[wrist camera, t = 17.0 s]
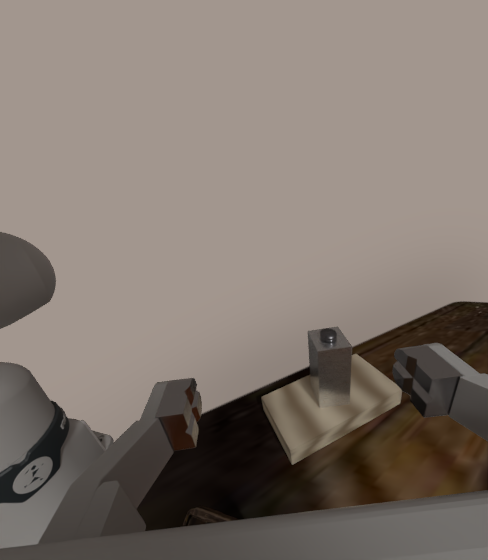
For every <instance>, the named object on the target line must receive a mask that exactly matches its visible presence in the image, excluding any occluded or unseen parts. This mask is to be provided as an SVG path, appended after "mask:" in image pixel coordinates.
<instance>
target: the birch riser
mask: <svg viewBox="0 0 488 560" xmlns="http://www.w3.org/2000/svg"><path fill="white" fill-rule="evenodd" d="M401 395H402V390H401V389H400V387H399V386H398V385H396V384H395V383H394V382H392V381H391V380H390V379H389V378H387V377H386V376H385V375H383V374H382V373H381V372H379V371H378V370H377V369H375V368H374V367H373V366H372V365H370V364H369V363H368V362H366V361H365V360H364V359H362V358H361V357H360V356H358V355H357V354H354V355H352V360H351V386H350V404H346V405H339V406H332V407H324V408H320V407H319V405H318V402H317V399H316V397H315V394H314V391H313V389H312V386H311V382H310V375H308V376H306V377H304V378H302V379H299V380H297V381H295V382H293V383H291V384H288V385H286V386H284V387H282V388H280V389H277V390H275V391H273V392H271V393H269V394H267V395H264V396H262V397H261V398H262V404H263V409H264V412H265V414H266V416H267V418H268V419H269V421H270V423H271V425H272V427H273V429H274V431H275V433H276V435H277V437H278V439H279V441H280V443H281V445H282V446H283V448H284V450H285V452H286V454H287V456H288V458H289V460H290V462H291V464H292V465H293V464H295V463H296V462H298V461H300V460H302V459H303V458H305V457H307V456H309V455H310V454H312V453H314V452H316V451H318V450H319V449H321V448H323V447H325V446H326V445H328V444H330V443H332V442H333V441H335V440H337V439H339V438H340V437H342V436H344V435H346V434H347V433H349V432H351V431H353V430H354V429H356V428H358V427H360V426H361V425H363V424H365V423H367V422H368V421H370V420H372V419H374V418H375V417H377V416H379V415H381V414H382V413H384V412H386V411H388V410H389V409H391V408H393V407H395V406H396V405H398V404H400V401H401Z"/></svg>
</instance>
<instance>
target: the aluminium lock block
mask: <svg viewBox="0 0 488 560" xmlns="http://www.w3.org/2000/svg"><path fill="white" fill-rule="evenodd" d="M308 344H309V361H310V362H309V363H310V382H311V386H312V389H313V391H314V394H315V397H316V399H317V402H318V405H319V407H320V408H324V407H332V406H339V405H346V404H350V386H351V360H352V346H351V344H350V343H349V342H348V340H347V339H346V338H345V336H344V335H343V333H342V332H341V331H340V329H339V328H338V327H332V328H326V329H319V330H312V331H308Z"/></svg>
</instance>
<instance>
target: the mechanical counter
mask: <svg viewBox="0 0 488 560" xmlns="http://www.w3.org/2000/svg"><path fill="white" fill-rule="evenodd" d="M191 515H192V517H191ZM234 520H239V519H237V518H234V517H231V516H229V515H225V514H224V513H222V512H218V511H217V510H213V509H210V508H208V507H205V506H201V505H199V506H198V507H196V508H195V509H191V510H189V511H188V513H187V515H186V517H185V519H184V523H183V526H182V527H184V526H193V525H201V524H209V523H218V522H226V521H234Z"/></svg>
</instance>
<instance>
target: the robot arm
mask: <svg viewBox="0 0 488 560" xmlns="http://www.w3.org/2000/svg"><path fill="white" fill-rule="evenodd" d="M55 284H56V278H55V273H54V269H53V267H52V265H51V263H50V261H49V260H48V258H47V257H46V256H45V255H44V254H43V253H42V252H41V251H40V250H39V249H37V248H36V247H35V246H33V245H32V244H30V243H29V242H27V241H25V240H23V239H21V238H18V237H16V236H13V235H10V234H6V233H2V232H0V329H1V328H3V327H6V326H8V325H10V324H12V323H14V322H16V321H18V320H19V319H21V318H23V317H25V316H26V315H28V314H30V313H32V312H33V311H35V310H37V309H38V308H40V307H41V306H43V305H45V304H47V303H48V302H49V301H50V300H51V298H52V296H53V293H54V290H55ZM394 357H395V358H396V359H397V362H396V363H395V364H394V365H393V376H394V379H395V381H396V383H397V385H398V386H399V387H400V389H401V390H402V391H404V392H406V393H407V394H409V395H410V401H411V402H412V404H413V405H414V406H415V407H416V408H417V410H418V411H419V412H420V413H421V415H422V416H423V417H433V416H443V415H449V417H451V418H452V419H454V420H455V421H457V422H459V423H460V424H462V425H463V426H465V427H466V428H468V429H469V430H471V431H473V432H474V433H476V434H477V435H479V436H480V437H482V438H484V439H485V440H487V441H488V375H487V374H479V373H478V372H477V371H475V370H474V369H473V368H472V367H470V366H469V365H468V364H466V363H465V362H464V361H462V360H461V359H460V358H459V357H457V356H456V355H455V354H453V353H452V352H451V351H449V350H448V349H447V348H445V347H444V346H443V345H441V344H439V343H433V344H426V345H420V346H413V347H407V348H400V349H397V350H396V351H395V355H394ZM196 386H197V384H196V381H195V379H194V378H190V379H181V380H172V381H165V382H157V384H156V385H155V386H154V388H153V390H152V393H151V395H150V397H149V400H148V402H147V405H146V407H145V409H144V412H143V414H142V417H141V419H140V420H139V421H136V422H135V423H134V424H133V425H132V426H131V427H130V428H128V429H127V431H125V432H124V434H122V435H121V436H120V437H119V438H118V439H117V440H116V441H115V442H114V443H113V438H112V437H111V436H109V435H106V434H103V433H99V432H95V431H92V430H91V429H90V427H89V426H88V425H87V423H86V422H85V421H84V420H81V421H79V420H76V419H68V418H67V417H66V414H65V412H64V411H63V409H62V408H60V407H59V406H58V405H57V404H56V402H53V401H50V400H49V398H48V397H47V395H46V394H45V392H44V391H43V390H42V388H41V387H40V385H39V384H38V382H37V381H36V379H35V378H34V377H33V375H32V374H31V372H30V371H29V370H27V369H26V368H25V367H23V366H20V365H18V364H14V363H5V362H0V560H488V490H486V491H477V492H469V493H461V494H452V495H444V496H435V497H427V498H419V499H410V500H402V501H393V502H385V503H377V504H368V505H360V506H352V507H343V508H335V509H326V510H318V511H310V512H301V513H293V514H284V515H276V516H268V517H259V518H251V519H243V520H234V521H226V522H218V523H209V524H201V525H193V526H184V527H176V528H168V529H159V530H151V531H145V529H146V524H145V522H144V520H143V519H142V517H141V516H140V514H139V513H138V511H137V510H136V509H137V507H138V506H139V504H140V503H141V501H142V500H143V498H144V497H145V495H146V494H147V492H148V491H149V489H150V488H151V486H152V484H153V483H154V481H155V480H156V478H157V477H158V475H159V474H160V472H161V471H162V469H163V468H164V466H165V465H166V463H167V462H168V460H169V459H170V457H171V456H172V454H173V451H176V450H183V449H189V448H195V447H196V443H197V437H198V431H199V428H198V425H197V422H198V421H199V419H200V418H201V411H202V410H201V409H202V408H201V407H202V402H201V396H200V393H199V392H198V391H196Z"/></svg>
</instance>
